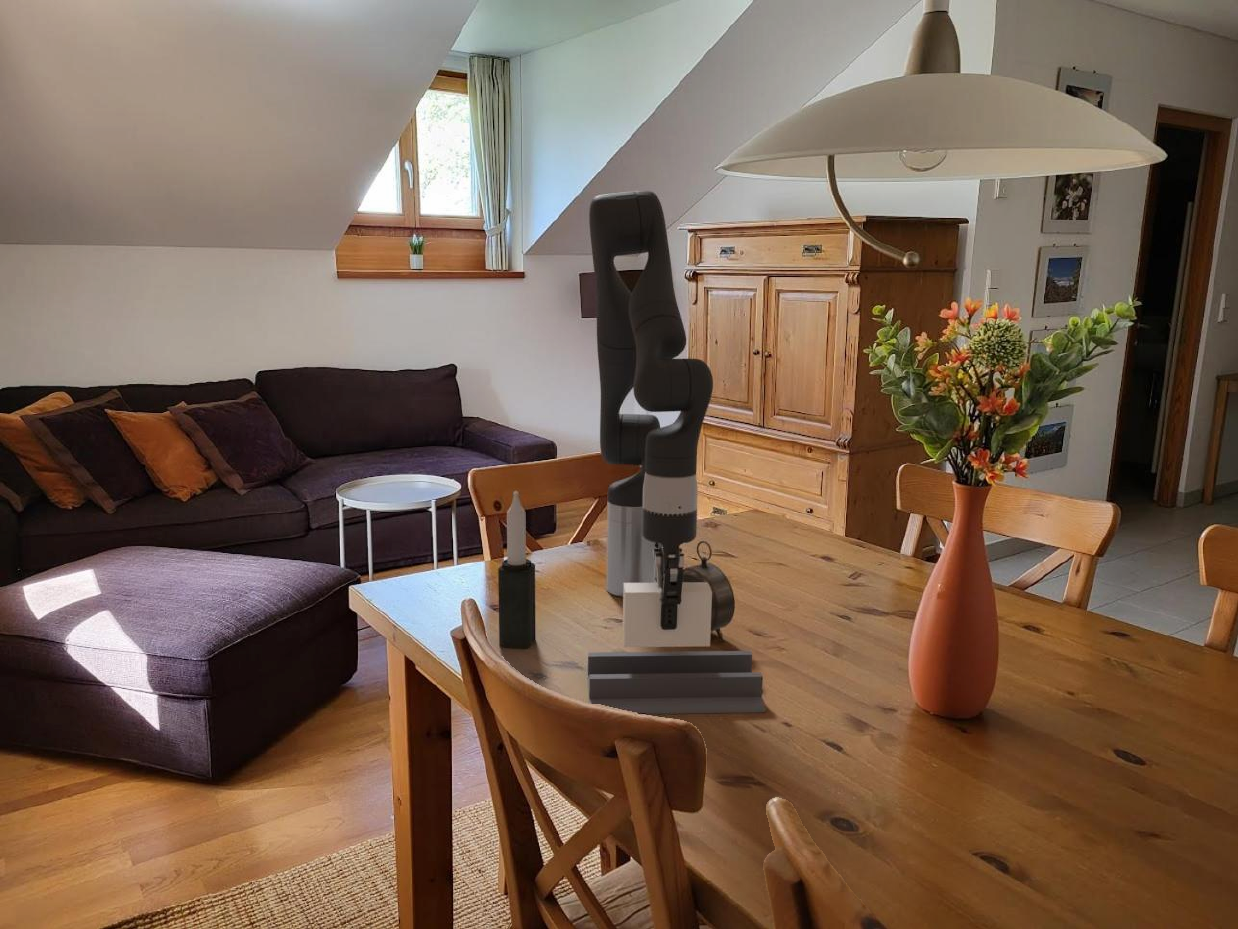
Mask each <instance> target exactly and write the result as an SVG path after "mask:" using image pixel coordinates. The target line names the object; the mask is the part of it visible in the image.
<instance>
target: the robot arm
mask: <svg viewBox="0 0 1238 929" xmlns="http://www.w3.org/2000/svg"><path fill="white" fill-rule="evenodd" d="M663 210H664V209H663V207H662V204H661V201H660V199H659V197H658V195H657V194H656V193H654V192H653V191H650V190H632V191H623V192H614V193H613V192H612V193H605V194H603V193H602V194H599V195H596V196H594V197H593V198H592V200H591V202H590V205H589V212H588V214H589V215H588V217H589V218H588V220H589V234H590V235H589V236H590V244H591V254H592V261H593V263H592V264H593V271H594V272H593V273H594V281H595V296H596V300H595V301H596V305H595V306H596V343H597V344H596V345H597V346H596V348H597V350H596V351H597V360H598V371H599V383H600V384H599V385H600V412H599V413H600V416H599V417H600V418H599V422H600V423H599V445H600V446H599V447H600V453H601V457H602V459H603V461H604V462H606V463H607V464H609V465H610V464H611V465H619V466H621V465H622V466H640V467H641V468H640V470H639V471H637V472H636V473H635V474H632V475H631V476H628V477H627V478H623V479H621V480H617V481H614V482H613V483H611V484H610V485H609V486H608V488H607V518H606V519H607V525H606V526H607V528H606V534H607V536H606V591H607V592H608V593H609V594H611V595H614V596H616V597H621V598H623V583H657V585H658V586H659V587H660V588H661V598H660V602H661V628H662V629H663V630H674V629H676V628H677V604H681V592H682V584H683V574H684V568H683V567H684V566H685V554H684V553H683V549H682V548H681V547H680V546H681V545H682V544H687V543H691V542H692V541H694V540H695V539H696V537H697V528H698V523H697V522H698V498H699V497H698V494H699V492H698V491H699V489H698V487H699V486H698V480H697V479H698V478H697V477H698V476H697V474H698V473H697V468H698V467H697V464H698V444H699V440H700V435H701V431H702V427H703V424H704V420H705V417H706V414H707V410H708V407H709V406H710V402H711V398H712V394H713V390H714V389H713V388H714V379H713V373H712V371H711V369H710V367H709V365H707V362H705V361H704V360H701V359H698V358H677V357H678V356H680V355H681V354H682V353H683V351H684V350H685V347H686V345H687V335H686V331H685V328H684V323H683V319H682V315H681V313H680V310H679V306H678V302H677V298H676V294H675V288H674V280H673V269H672V261H671V253H670V246H669V240H668V239H669V238H668V233H667V227H666V226H667V225H666V220H665V219H666V218H665V214H664V211H663ZM645 253H647V254H648V255H647V261H646V263H645V265H644V268H643V270H642V273H641V274H640V276H639V278H638V280H637V282H635V283H636V284H635V286H634V287H633V290H632V291H630V290H629V288H628V287H627V285H626V283H625V282H624V281H623V279H622V277H621V275H620V273H619V271H618V270H617V267H616V265H615V260H614V259H615V257H619V256H621V257H622V256H630V255H640V254H645ZM632 390H633V395H634V398H635V401H636V402H637V404H638V405H639V406H640V407H641V408H642V409H643V410H645V411H647V412H651V413H662V412H663V413H664V412H665V413H666V412H679V414H678V416H677V418H676V419H675V421H674V422H673V423H671V424H669V425H665V426H662V427H661V424H660V421H659V418H658V417H657V416H656V415H653V414H641V413H639V414H636V413H634V414H633V413H631V414H630V413H620V409H621V407H622V405H623V404H624V401H625V399H626V398H627V397H628V395H629V394H630V392H631V391H632ZM667 592H675V595H667Z"/></svg>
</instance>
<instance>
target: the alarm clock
mask: <svg viewBox="0 0 1238 929" xmlns="http://www.w3.org/2000/svg"><path fill="white" fill-rule="evenodd" d="M701 544H705V545H706V546H707V547H708V549H709V556H708V557H706V556H704V557H701V554H700V550H699V547H700V545H701ZM696 552H697V556H698V557H699V559H700V561H701V563H698V564H696V565H693V566H689V567H685V568H683V570H684V574H683V582H708V584H709V586H710V589H711V591H712V607H711V632H714V631H715V632H716V634H717V636H718V638H719V639H720V643H725V639H724V637H723V633H722V631H721V629H723V628H725V627H727V626H728V625H729V624H730V623H731V621H732V620H733V617H734V614H735V608H736V606H735V605H736V602H735V595H734V590H733V587H732V584H731V582H730V581H729V579H728V577H727V576H726V574H725V572H724V571H723V570H722V569H721V568H719V566H717V565H715V564H713V563H711V562H708V561H709V560H710V559H711V557H712V554H713V550H712V547H711V544H710V543H708V541H705V540H701V541H699V542H698V543H697V545H696Z"/></svg>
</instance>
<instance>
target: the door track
mask: <svg viewBox="0 0 1238 929" xmlns="http://www.w3.org/2000/svg"><path fill="white" fill-rule="evenodd" d="M587 653H588V654H587V685H588V701H589V702H588V703H591V704H601V705H605V706H609V707H613V708H618V709H622V710H627V711H632V712H637V713H646V714H645V715H658V714H660V715H662V714H663V715H666V714H667V715H670V714H672V715H673V714H724V713H725V714H727V713H728V714H731V713H734V714H736V713H737V714H738V713H766V709H767V706H766V703H765V700H764V699H763V684H764V682H763V681H764V679H763V678H764V677H763V674H762V672H760V671H759V672H752V669H753V653H752V651H751V650H715V651H714V650H712V651H711V650H708V651H707V650H704V651H703V650H700V651H699V650H698V651H697V650H696V651H631V652H630V651H621V652H620V651H618V652H614V651H611V652H604V651H603V652H600V651H599V652H598V651H596V652H587Z"/></svg>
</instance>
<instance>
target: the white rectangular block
mask: <svg viewBox="0 0 1238 929" xmlns="http://www.w3.org/2000/svg"><path fill="white" fill-rule="evenodd" d="M667 595H675V592H667ZM660 598H661V588H660V587H659V586H658V585H657V582H656V583H623V597H622V599H623V600H622V605H623V606H622V640H623V641H622V642H623V647H624V648H657V647H658V648H664V647H665V648H667V647H668V648H669V647H671V648H675V647H680V648H685V647H711V634H712V633H711V632H712V631H711V607H712V591H711V589H710V586H709V584H708V582H683V584H682V592H681V604H677V628H676V629H674V630H663V629H662V628H661V602H660Z"/></svg>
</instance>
